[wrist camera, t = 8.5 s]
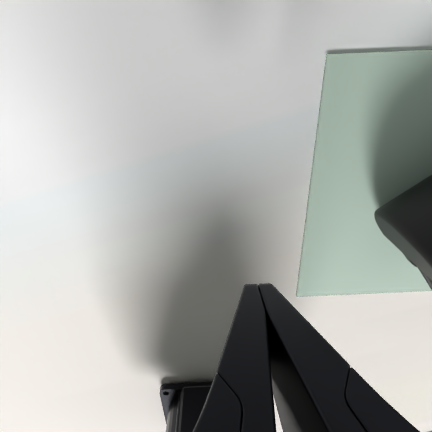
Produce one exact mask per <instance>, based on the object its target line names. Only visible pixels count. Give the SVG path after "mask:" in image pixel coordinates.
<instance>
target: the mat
mask: <svg viewBox="0 0 432 432" xmlns="http://www.w3.org/2000/svg"><path fill="white" fill-rule="evenodd" d="M430 175H432V50H412V51H389V52H365V53H342V54H326V62H325V70H324V78H323V86H322V94H321V102H320V110H319V118H318V126H317V133H316V141H315V149H314V157H313V165H312V173H311V181H310V189H309V197H308V205H307V213H306V221H305V229H304V237H303V244H302V252H301V260H300V268H299V276H298V284H297V292H296V296H297V297H305V296H327V295H350V294H372V293H395V292H417V291H432V290H431V288H430V287H429V285H428V283H427V282H426V280H425V279H424V277H423V275H422V274H421V272H420V271H419V269H418V267H415V266H414V265H412V264H411V263H410V262H409V261H408V260H407V259H406V257H405V255H404V254H403V253H402V252H401V251H400V250H399V249H398V248H397V247H396V246H395V245H394V244H393V243H392V242H391V241H390V240H388V239H387V238H386V237H385V236H384V235H383V233H382V232H381V230H380V229H379V227H378V225H377V223H376V221H375V217H374V213H375V211H376V210H377V209H378V208H380V207H381V206H383V205H384V204H386V203H388V202H389V201H391V200H392V199H394V198H395V197H397V196H399V195H400V194H402V193H403V192H405V191H407V190H408V189H410V188H411V187H413V186H414V185H416V184H418V183H419V182H421V181H422V180H424V179H426V178H427V177H429V176H430Z"/></svg>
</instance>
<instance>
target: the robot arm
mask: <svg viewBox="0 0 432 432" xmlns="http://www.w3.org/2000/svg"><path fill="white" fill-rule="evenodd" d="M273 394H274V398H275V402H276V406H277V410H278V414H279V418H280V421H281V425H282V429H283V432H420V431H418V430H417V429H416V428H415V427H414V426H413V425H412V424H410V423H409V422H408V421H407V420H406V419H405V418H404V417H403V416H402V415H400V414H399V413H398V412H397V411H396V410H395V409H394V408H393V407H392V406H391V405H390V404H388V403H387V402H386V401H385V400H384V399H383V398H382V397H381V396H380V395H379V394H378V393H377V392H376V391H375V390H374V389H373V388H372V387H371V386H370V385H369V384H368V383H367V382H366V381H365V380H364V379H363V378H362V377H361V376H360V375H359V374H358V373H357V372H356V371H355V370H354V369H353V368H350V365H349V364H348V363H347V362H346V361H345V360H344V359H343V358H342V356H341V355H340V354H339V353H338V352H337V351H336V350H335V349H334V348H333V347H332V346H331V345H330V344H329V343H328V342H327V341H326V340H325V339H324V338H323V337H322V336H321V335H320V334H319V333H318V332H317V331H316V329H315V328H314V327H313V326H312V325H311V324H310V323H309V322H308V321H307V320H306V319H305V318H304V317H303V316H302V315H301V314H300V313H299V312H298V311H297V310H296V309H295V308H294V307H293V306H292V305H291V304H290V302H289V301H288V300H287V299H286V298H285V297H284V296H283V295H282V294H281V293H280V292H279V291H278V290H277V289H276V288H275V287H274V286H273V285H272V284H270V283H265V284H259V285H257V284H246V285H245V286H244V288H243V291H242V294H241V297H240V300H239V304H238V307H237V310H236V313H235V316H234V319H233V322H232V325H231V328H230V331H229V334H228V337H227V340H226V343H225V346H224V349H223V353H222V356H221V359H220V362H219V365H218V368H217V371H216V374H215V376H214V379H213V383H190V384H168V385H163V386H161V388H160V397H161V401H162V406H163V410H164V415H165V419H166V424H167V427H166V432H276V424H275V412H274V400H273Z"/></svg>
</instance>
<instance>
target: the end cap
mask: <svg viewBox="0 0 432 432" xmlns="http://www.w3.org/2000/svg"><path fill="white" fill-rule="evenodd" d="M374 217H375V221H376V223H377V225H378V227H379V229H380V230H381V232H382V233H383V235H384V236H385V237H386V238H387V239H388V240H390V241H391V242H392V243H393V244H394V245H395V246H396V247H397V248H398V249H399V250H400V251H401V252H402V253H403V254H404V255H405V257H406V259H407V260H408V261H409V262H410V263H411V264H412V265H414V266H415V267H418V269H419V271H420V272H421V274H422V275H423V277H424V279H425V280H426V282H427V283H428V285H429V287H430V288H431V290H432V175H430V176H429V177H427V178H426V179H424V180H422V181H421V182H419V183H418V184H416V185H414V186H413V187H411V188H410V189H408V190H407V191H405V192H403V193H402V194H400V195H399V196H397V197H395V198H394V199H392V200H391V201H389V202H388V203H386V204H384V205H383V206H381V207H380V208H378V209H377V210H376V211H375V213H374Z"/></svg>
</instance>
